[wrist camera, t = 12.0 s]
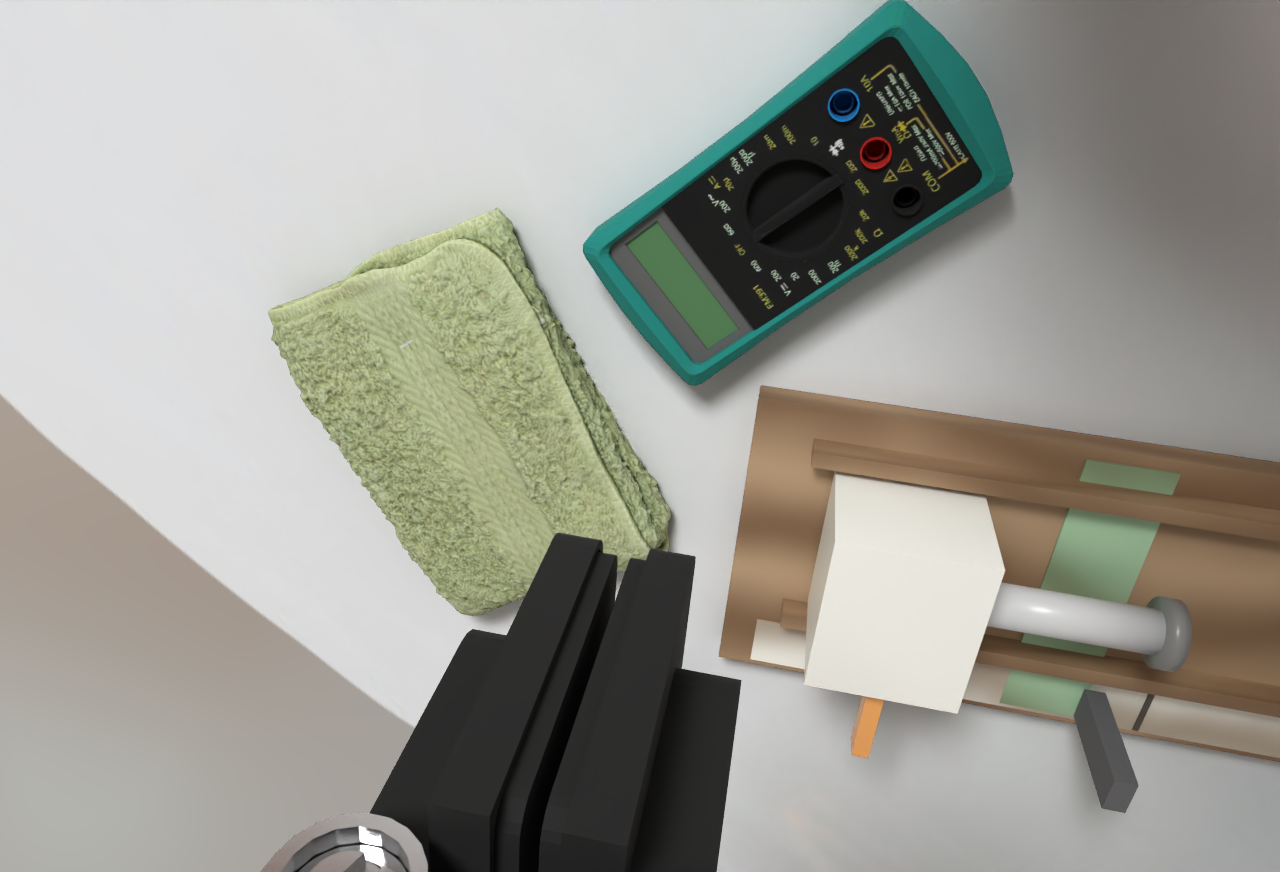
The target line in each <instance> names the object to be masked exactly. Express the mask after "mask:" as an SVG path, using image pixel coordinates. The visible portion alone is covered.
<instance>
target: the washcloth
mask: <svg viewBox="0 0 1280 872" xmlns="http://www.w3.org/2000/svg"><path fill="white" fill-rule="evenodd" d="M548 306H549V305H548V302H547V300H546V298H545V297H544V293H543V292H541V291H539V288H538V283H535V278H534V275H533V274H532V273H531V272H530V270H529V269H527V268H526V260H525V259H524V253H523V252H522V251H521V248H520V246H519V244H518V240H517V238H516V236H515V235H514V234H513V225H512V222H511V221H510V220H509V219H508V218H507V217H506V216H505V215H504V214H503V213H502V212H501V211H500V210H499V209H498V208H496V209H495V210H493V211H490V212H487V213H484V214H483V215H481V216H478V217H475V218H473V219H471V220H469V221H466V222H463V223H459V224H458V225H457V226H454V227H452V228H449V229H446V230H444V231H442V232H438V233H434V234H431V235H428V236H424V237H421V238H419V239H415V240H411V241H409V242H407V243H405V244H401V245H397V246H395V247H393V248H391V249H388V250H385V251H382V252H379V253H377V254H375V255H374V256H373V257H372V258H370V259H368V260H366V261H364V262H363V263H362V264H361V265H359V266H357V267H356V268H355V269H354V270H353V271H352V272H351V273H350V274H349V275H348V276H347V277H346V278H345V279H344V280H341V281H339V282H337V283H335V284H333V285H331V286H329V287H327V288H324V289H321V290H319V291H316V292H314V293H312V294H310V295H308V296H306V297H303V298H300V299H297V300H293V301H291V302H288V303H285V304H281V305H278V306H277V307H275V308H272V309H270V310H269V311H268V315H269V317H270V319H271V322H272V325H273V326H274V327H273V335H272V339H271V340H272V341H274V343H275V344H276V345H277V346H279V350H280V355H281V357H282V358H284V359H286V361H287V365H288V367H289V370H290V375H291V376H292V377H293V379H294V381H295V384H296V385H297V387H298V388H299V389H300V390H301V395H300V396H301V398H302V400H303V402H304V403H305V405H306V406H307V407H308V409H309V410H310V412H311V414H312V415H313V416H315V417H317V418H318V419H320V420H321V422H322V424H323V428H324V429H325V430H326V431H327V432H328V433H329V434H331V436H330V438H329V440H332V441H334V442H335V443H336V444H338V446H339V450H340V451H341V452H342V454H343V456H344V458H345V459H347V462H350V463H349V464H350V466H351V468H352V470H353V471H354V472H355V473H356V475H357V476H360V477H361V479H362V481H361V484H362V486H364V487H366V488H367V490H368V491H370V496H371V498H372V499H373V500H375V503H376V505H377V506H378V507H380V508H381V510H382V513H384V514H385V515H386V518H385V519H387V520H389V521H390V522H391V523H392V524H393V525H394V527H395V530H396V535H397V538H398V539H399V540H400V542H401V544H402V547H403V548H404V549H406V550H408V551H409V553H408V555H409V556H410V558H411V559H412V560H413V561H415V562H416V563H418V565H419V567H420V568H421V569H423V572H424V574H425V575H427V576H429V578H430V580H431V581H432V583H433V584H434V585H435V586H436V588H437V589H436V592H437V593H438V594H440V595H442V597H443V598H445V599H446V601H448V602H449V603H451V604H452V606H453V607H454V608H455V609H456V610H457V611H459V612H460V613H461V614H465V615H470V616H477V615H481V614H484V613H486V612H489V611H492V610H493V609H495V608H496V607H502V606H503V605H506V604H508V603H510V602H512V601H513V600H518V601H519V600H520V599H521V598H523V597H525V596H526V594H527V592H528V590H529V587H530V585H531V583H532V581H533V579H534V577H535V575H536V573H537V571H538V569H539V566H540V564H541V562H542V560H543V558H544V556H545V554H546V552H547V550H548V548H549V545H550V543H551V541H552V539H553V537H554V536H555V534H556V533H564V534H569V535H575V536H581V537H587V538H592V539H598V540H602V542H603V553H608V554H613V555H617V557H618V567H617V572H620V571H626V568H627V565H628V562H629V560H630V558H636V559H642V560H646V559H647V556H648V553H649V550H650V549H656V550H661V551H667V552H668V549H669V539H668V531H667V529H668V521H669V519H670V517H671V513H670V509H669V506H668V505H667V504H666V503H665V502H664V498H663V497H662V495H661V494H660V493H659V491H658V488H657V482H656V481H655V479H654V478H653V477H652V476H651V475H650V474H649V473H648V472H647V471H646V470H644V469H643V464H642V461H639V460H638V458H637V455H636V454H635V453H634V451H633V449H632V448H631V446H630V444H629V441H628V440H627V438H625V436H624V435H622V433H621V431H620V430H619V429H618V426H617V423H616V417H615V415H614V414H613V413H612V411H611V410H610V408H609V407H608V405H607V403H606V401H605V399H604V397H603V395H602V394H601V393H600V392H598V390H597V388H596V387H595V386H594V384H593V383H594V381H592V380H591V379H590V377H589V376H588V375H586V370H585V369H584V367H583V366H582V364H581V362H580V360H581V356H580V355H578V353H577V352H576V350H575V349H572V346H573V345H574V341H573V340H571V339H569V338H568V339H567V337H568V333H566V332H565V331H564V330H561V329H562V328H561V327H560V324H561V322H560V320H556V319H555V315H552V314H550V312H549V309H548Z"/></svg>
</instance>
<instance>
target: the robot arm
mask: <svg viewBox="0 0 1280 872" xmlns="http://www.w3.org/2000/svg"><path fill="white" fill-rule="evenodd" d="M617 567H618V557H617V555H613V554H608V553H603V542H602V540H598V539H592V538H587V537H581V536H575V535H569V534H564V533H556V534H555V536H554V537H553V539H552V541H551V543H550V545H549V548H548V550H547V552H546V554H545V556H544V558H543V560H542V562H541V564H540V566H539V569H538V571H537V573H536V575H535V577H534V579H533V581H532V583H531V585H530V587H529V590H528V592H527V594H526V596H525V598H524V600H523V602H522V604H521V606H520V608H519V611H518V613H517V615H516V617H515V619H514V621H513V623H512V625H511V627H510V629H509V632H508V634H507V636H506V635H501V634H495V633H490V632H485V631H480V630H474V629H472V630H471V631H469V632H468V633H467V634H466V636H465V637H464V639H463V640H462V642H461V644H460V645H459V647H458V649H457V651H456V653H455V655H454V657H453V658H452V660H451V662H450V664H449V666H448V668H447V670H446V672H445V673H444V675H443V677H442V679H441V681H440V683H439V685H438V686H437V688H436V690H435V692H434V694H433V696H432V698H431V700H430V701H429V703H428V705H427V707H426V709H425V711H424V713H423V714H422V716H421V718H420V720H419V722H418V724H417V726H416V728H415V729H414V731H413V733H412V735H411V737H410V739H409V741H408V743H407V744H406V746H405V748H404V750H403V752H402V754H401V756H400V757H399V760H398V761H397V763H396V765H395V767H394V769H393V770H392V772H391V774H390V776H389V778H388V780H387V782H386V784H385V785H384V787H383V789H382V791H381V793H380V795H379V797H378V798H377V800H376V802H375V804H374V806H373V808H372V810H371V811H370V813H357V814H341V815H338V816H335V817H332V818H328V819H325V820H322V821H319V822H316V823H314V824H313V825H311V826H309V827H308V828H306V829H304V830H303V831H301V832H299V833H297V834H296V835H294V836H293V837H292V838H291V839H290V840H289V841H288V842H287V843H285V844H284V845H283V846H282V847H281V849H279V850H278V851H277V852H276V853H275V854H274V855H273V856H272V858H271V859H270V860H269V861H268V863H267V864H266V865H265V866H264V868H263V869H262V870H261V871H260V872H716V871H717V864H718V856H719V848H720V841H721V833H722V825H723V818H724V810H725V803H726V795H727V787H728V780H729V772H730V764H731V757H732V749H733V741H734V734H735V726H736V718H737V711H738V703H739V695H740V687H741V680H737V679H732V678H727V677H722V676H716V675H711V674H706V673H701V672H695V671H690V670H685V669H681V668H682V661H683V653H684V645H685V638H686V630H687V622H688V615H689V607H690V599H691V592H692V584H693V576H694V568H695V556H690V555H684V554H679V553H673V552H667V551H661V550H656V549H650V550H649V553H648V556H647V559H646V560H642V559H636V558H630V560H629V562H628V565H627V568H626V571H625V574H624V577H623V580H622V583H621V586H620V589H619V592H618V595H617V598H616V601H615V592H616V579H617Z"/></svg>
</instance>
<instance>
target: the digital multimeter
mask: <svg viewBox="0 0 1280 872" xmlns="http://www.w3.org/2000/svg"><path fill="white" fill-rule="evenodd" d="M873 45H874V46H873ZM869 48H870V49H869ZM865 51H866V52H865ZM861 54H862V55H861ZM857 57H858V58H857ZM852 61H853V62H852ZM848 64H849V65H848ZM844 67H845V68H844ZM840 70H841V71H840ZM836 73H837V74H836ZM832 76H833V77H832ZM831 77H832V78H831ZM827 80H828V81H827ZM823 83H824V84H823ZM819 86H820V87H819ZM806 96H807V97H806ZM802 99H803V100H802ZM803 155H805V156H803ZM784 156H785V157H784ZM815 158H816V159H815ZM825 163H826V164H825ZM833 169H834V170H835V171H834V170H833ZM839 176H840V177H841V178H840V177H839ZM1012 177H1013V171H1012V167H1011V163H1010V160H1009V156H1008V153H1007V150H1006V146H1005V143H1004V139H1003V136H1002V132H1001V129H1000V127H999V124H998V122H997V119H996V116H995V114H994V111H993V109H992V106H991V104H990V101H989V99H988V96H987V94H986V93H985V91H984V89H983V88H982V86H981V84H980V83H979V81H978V80H977V78H976V76H975V75H974V73H973V71H972V70H971V68H970V67H969V65H968V63H967V62H966V61H965V60H964V59H963V58H962V57H961V55H960V54H959V53H958V52H957V51H956V50H955V49H954V48H953V47H952V45H951V44H950V43H949V42H948V41H947V40H946V39H945V38H944V37H943V35H942V34H941V33H940V32H938V31H937V30H936V29H935V28H934V27H933V26H932V25H931V24H930V23H929V22H928V21H927V20H925V19H924V18H923V17H922V16H921V15H920V14H919V13H918V12H917V11H916V10H915V9H913V8H912V7H911V6H910V5H909V4H908V3H907V2H905V1H904V0H889V1H887V2H886V3H885V4H883V5H882V6H881V7H880V8H879V9H878V10H876V11H875V12H874V13H873V14H872V15H871V16H869V17H868V18H867V19H866V20H865V21H864V22H862V23H861V24H860V25H859V26H858V27H856V28H855V29H854V30H853V31H852V32H851V33H849V34H848V35H847V36H846V37H845V38H844V39H842V40H841V41H840V42H839V43H838V44H837V45H835V46H834V47H833V48H832V49H831V50H830V51H828V52H827V53H826V54H825V55H824V56H822V57H821V58H820V59H819V60H818V61H816V62H815V63H814V64H813V65H811V66H810V67H809V68H808V69H807V70H805V71H804V72H803V73H802V74H800V75H799V76H798V77H797V78H796V79H794V80H793V81H792V82H791V83H789V84H788V85H787V86H786V87H785V88H783V89H782V90H781V91H780V92H778V93H777V94H776V95H775V96H774V97H772V98H771V99H770V100H769V101H767V102H766V103H765V104H764V105H763V106H761V107H760V108H759V109H758V110H756V111H755V112H754V113H753V114H752V115H750V116H749V117H748V118H747V119H745V120H744V121H743V122H741V123H740V124H739V125H737V126H736V127H735V128H733V129H732V130H731V131H729V132H728V133H727V134H725V135H724V136H723V137H721V138H720V139H719V140H717V141H716V142H715V143H713V144H712V145H711V146H710V147H708V148H707V149H706V150H704V151H703V152H702V153H700V154H699V155H698V156H696V157H695V158H694V159H692V160H691V161H690V162H688V163H687V164H686V165H684V166H683V167H682V168H680V169H679V170H678V171H676V172H675V173H674V174H672V175H671V176H669V177H668V178H666V179H665V180H664V181H662V182H661V183H659V184H658V185H657V186H655V187H654V188H652V189H651V190H649V191H648V192H647V193H645V194H644V195H642V196H641V197H639V198H638V199H637V200H635V201H634V202H632V203H631V204H630V205H628V206H627V207H625V208H624V209H622V210H621V211H620V212H618V213H617V214H615V215H614V216H613V217H611V218H610V219H608V220H607V221H605V222H604V223H603V224H601V225H600V226H598V227H597V228H596V229H595V230H594V232H593V233H592V234H591V235H590V237H589V238H588V239H587V240H586V242H585V243H584V244H583V253H584V255H585V257H586V259H587V260H588V262H589V263H590V265H591V266H592V268H593V269H594V271H595V272H596V274H597V275H598V277H599V278H600V280H601V281H602V283H603V284H604V286H605V287H606V289H607V290H608V291H609V293H610V294H611V296H612V297H613V298H614V300H615V301H616V303H617V304H618V306H619V307H620V308H621V310H622V311H623V312H624V314H625V315H626V316H627V317H628V319H629V320H630V321H631V322H632V324H633V325H634V326H635V327H636V329H637V330H638V331H639V332H640V334H641V335H642V336H643V337H644V338H645V339H646V340H647V342H648V343H649V344H650V345H651V346H652V347H653V348H654V349H655V350H656V352H657V353H658V354H659V355H660V356H661V357H662V358H663V359H664V360H665V361H666V362H667V363H668V364H669V366H670V367H671V368H672V369H673V370H674V371H675V372H676V373H677V374H678V375H679V376H680V377H681V378H682V379H683V380H684V381H685V382H687V383H688V384H690V385H698V384H701V383H703V382H704V381H706V380H707V379H709V378H710V377H711V376H713V375H714V374H716V373H717V372H718V371H720V370H721V369H723V368H724V367H725V366H727V365H728V364H730V363H731V362H732V361H734V360H735V359H737V358H738V357H739V356H741V355H742V354H744V353H745V352H746V351H748V350H749V349H750V348H752V347H753V346H755V345H756V344H757V343H759V342H760V341H762V340H763V339H764V338H766V337H767V336H769V335H770V334H771V333H773V332H774V331H776V330H777V329H778V328H780V327H781V326H783V325H784V324H786V323H787V322H789V321H790V320H792V319H793V318H795V317H796V316H798V315H799V314H801V313H802V312H804V311H805V310H807V309H808V308H810V307H811V306H813V305H814V304H816V303H817V302H819V301H820V300H822V299H823V298H825V297H826V296H828V295H829V294H831V293H832V292H834V291H835V290H837V289H838V288H840V287H841V286H843V285H844V284H846V283H847V282H849V281H850V280H852V279H853V278H855V277H857V276H858V275H860V274H862V273H863V272H865V271H866V270H868V269H870V268H871V267H873V266H875V265H876V264H878V263H880V262H881V261H883V260H884V259H886V258H888V257H889V256H891V255H893V254H894V253H896V252H898V251H899V250H901V249H902V248H904V247H906V246H907V245H909V244H911V243H912V242H914V241H916V240H917V239H919V238H921V237H922V236H924V235H925V234H927V233H929V232H930V231H932V230H934V229H935V228H937V227H939V226H940V225H942V224H944V223H946V222H947V221H949V220H951V219H953V218H954V217H956V216H958V215H959V214H961V213H963V212H965V211H966V210H968V209H970V208H971V207H973V206H975V205H977V204H978V203H980V202H982V201H984V200H985V199H987V198H989V197H990V196H992V195H994V194H996V193H997V192H999V191H1001V190H1002V189H1004V188H1005V187H1006V186H1007V185H1008V184H1009V183H1010V182H1011V180H1012ZM841 179H842V180H841ZM748 182H749V183H748ZM973 187H974V188H973ZM970 189H971V190H970ZM967 191H968V192H967ZM848 196H849V198H848ZM741 201H742V202H741ZM849 206H850V209H849ZM848 217H849V218H848ZM742 223H743V224H742ZM844 229H845V230H844ZM750 240H751V241H750ZM833 245H834V246H833ZM756 247H757V248H758V249H757V248H756ZM765 254H766V255H765ZM773 258H774V259H773ZM776 259H777V260H776ZM784 261H785V262H784ZM684 349H685V350H684Z"/></svg>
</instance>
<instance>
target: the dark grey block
mask: <svg viewBox="0 0 1280 872" xmlns="http://www.w3.org/2000/svg"><path fill="white" fill-rule="evenodd" d="M1074 718H1075V721H1076V724H1077V728H1078V731H1079V734H1080V738H1081V741H1082V744H1083V747H1084V751H1085V754H1086V757H1087V761H1088V764H1089V767H1090V771H1091V774H1092V777H1093V780H1094V784H1095V787H1096V790H1097V794H1098V797H1099V800H1100V804H1101V807H1102V808H1103V809H1108V810H1113V811H1118V812H1123V813H1125V812H1126V810H1127V808H1128V806H1129V804H1130V802H1131V800H1132V798H1133V796H1134V794H1135V792H1136V790H1137V788H1138V783H1137V780H1136V777H1135V774H1134V771H1133V769H1132V766H1131V763H1130V760H1129V757H1128V755H1127V752H1126V749H1125V746H1124V743H1123V740H1122V738H1121V735H1120V732H1119V729H1118V726H1117V723H1116V721H1115V718H1114V715H1113V712H1112V709H1111V707H1110V704H1109V701H1108V698H1107V695H1106V693H1104V692H1098V691H1093V690H1087V689H1084V692H1083V694H1082V696H1081V699H1080V701H1079V704H1078V706H1077V708H1076V711H1075V713H1074Z"/></svg>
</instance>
